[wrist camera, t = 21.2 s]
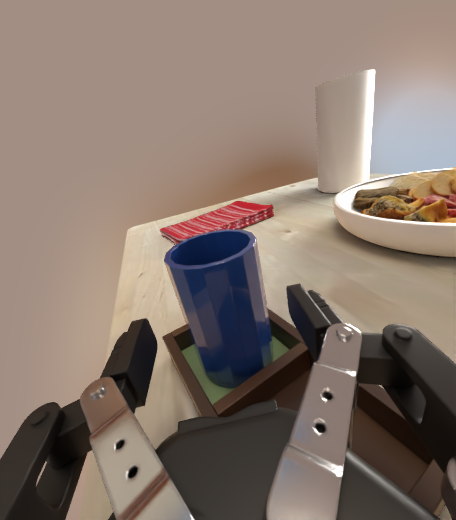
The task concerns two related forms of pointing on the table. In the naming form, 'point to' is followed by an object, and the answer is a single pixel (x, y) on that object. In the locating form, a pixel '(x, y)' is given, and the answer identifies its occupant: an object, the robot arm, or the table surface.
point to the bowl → (403, 211)
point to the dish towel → (219, 220)
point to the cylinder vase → (344, 130)
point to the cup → (223, 303)
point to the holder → (290, 396)
